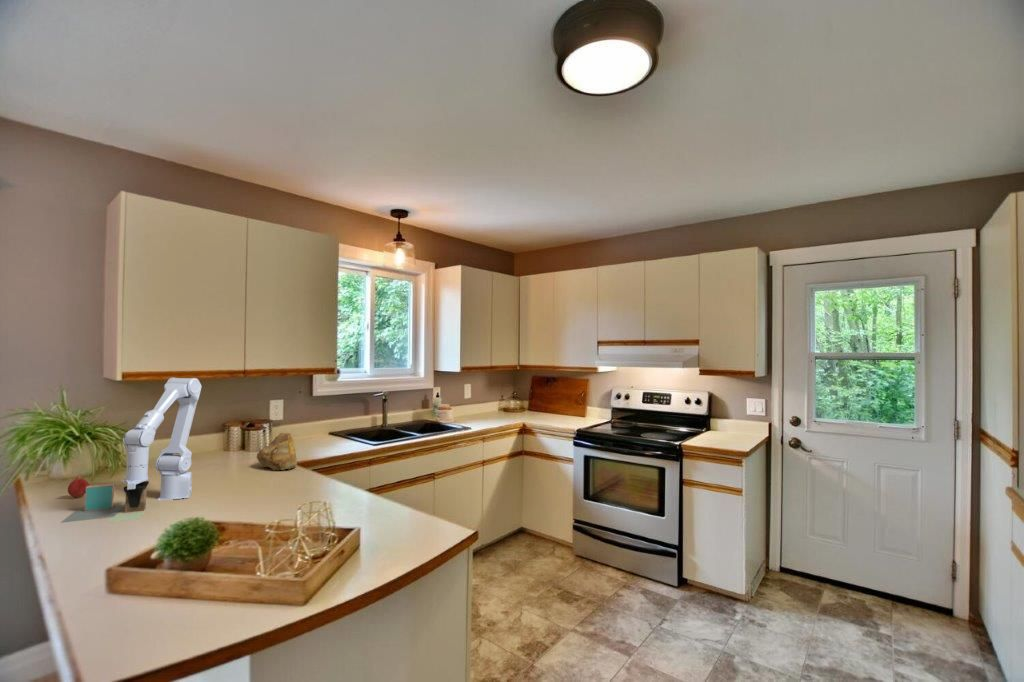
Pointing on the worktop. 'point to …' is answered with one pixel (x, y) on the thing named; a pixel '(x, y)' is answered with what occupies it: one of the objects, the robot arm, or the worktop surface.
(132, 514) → the rest pad
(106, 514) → the mat
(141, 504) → the walnut block
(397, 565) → the worktop surface
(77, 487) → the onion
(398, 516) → the worktop surface
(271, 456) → the rough brown rock
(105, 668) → the worktop surface
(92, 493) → the tile
